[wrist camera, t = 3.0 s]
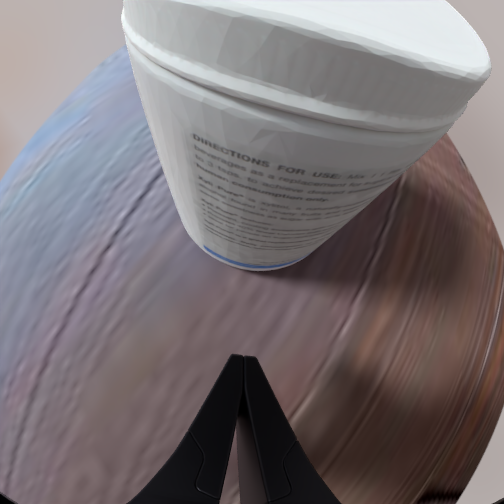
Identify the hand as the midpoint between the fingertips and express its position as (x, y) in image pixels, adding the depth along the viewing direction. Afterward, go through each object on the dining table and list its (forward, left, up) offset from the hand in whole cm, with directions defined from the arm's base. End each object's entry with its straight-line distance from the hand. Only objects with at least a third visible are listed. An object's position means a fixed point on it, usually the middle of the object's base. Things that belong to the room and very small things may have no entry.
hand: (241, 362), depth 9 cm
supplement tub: (+3, -9, -7) cm, 11 cm away
